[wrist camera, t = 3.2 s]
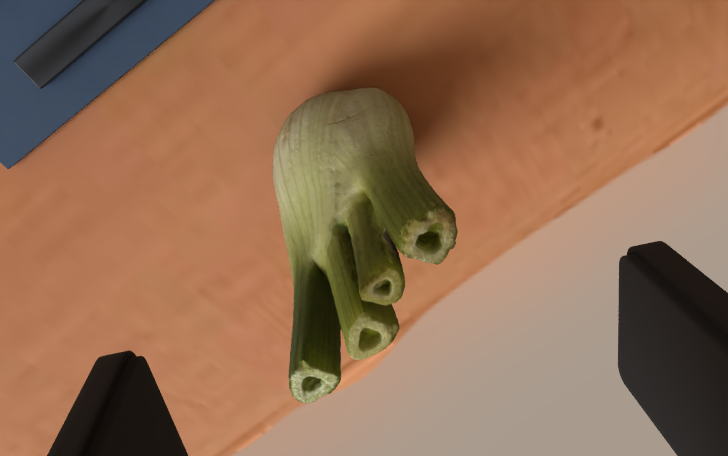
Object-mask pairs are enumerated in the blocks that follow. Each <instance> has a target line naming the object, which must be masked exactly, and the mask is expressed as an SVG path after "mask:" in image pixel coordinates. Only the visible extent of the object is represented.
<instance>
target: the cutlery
mask: <svg viewBox="0 0 728 456" xmlns="http://www.w3.org/2000/svg"><path fill="white" fill-rule="evenodd" d="M147 1H148V0H83V1H81V2H80V3H79V4H78V5H77V6H76V7H75V8H73V9H72V10H71V11H70V12H69V13H68V14H66V15H65V16H64V17H63V18H62V19H61V20H60V21H58V22H57V23H56V24H55V25H54V26H53V27H51V28H50V29H49V30H48V31H47V32H46V33H45V34H43V35H42V36H41V37H40V38H39V39H38V40H36V41H35V42H34V43H33V44H32V45H31V46H30V47H28V48H27V49H26V50H25V51H24V52H23V53H21V54H20V55H19V56H18V57H17V58H16V59H15V60H14V61H13V62H14V64H15V65H16V66H17V67H18V68H19V69H20V70H21V71H22V72H23V73H24V74H25V75H26V76H27V77H28V78H29V79H30V80H31V81H32V82H33V83H34V84H35V85H36V86H37V87H38V88H40V89H41V88H44V87H45V86H47V85H48V84H50V83H51V82H52V81H53V80H54V79H55V78H57V77H58V76H59V75H60V74H61V73H63V72H64V71H65V70H66V69H67V68H69V67H70V66H71V65H72V64H73V63H74V62H76V61H77V60H78V59H79V58H80V57H82V56H83V55H84V54H85V53H86V52H87V51H89V50H90V49H91V48H92V47H93V46H95V45H96V44H97V43H98V42H99V41H100V40H102V39H103V38H104V37H105V36H106V35H108V34H109V33H110V32H111V31H112V30H114V29H115V28H116V27H117V26H118V25H119V24H121V23H122V22H123V21H124V20H125V19H127V18H128V17H129V16H130V15H131V14H132V13H134V12H135V11H136V10H137V9H138V8H140V7H141V6H142V5H143V4H144V3H146V2H147Z"/></svg>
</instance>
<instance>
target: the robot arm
mask: <svg viewBox="0 0 728 456" xmlns="http://www.w3.org/2000/svg"><path fill="white" fill-rule="evenodd" d="M618 328H619V329H618V330H619V331H618V332H619V333H618V368H619V372H620V376H621V378H622V380H623V382H624V384H625V385H626V387H627V388H628V389H629V391H630V392H631V394H632V395H633V396H634V397H635V399H636V400H637V402H638V403H639V404H640V406H641V407H642V408H643V410H644V411H645V412H646V414H647V415H648V416H649V418H650V419H651V421H652V422H653V423H654V425H655V426H656V427H657V429H658V430H659V431H660V433H661V434H662V435H663V437H664V438H665V439H666V441H667V442H668V443H669V444H670V446H671V448H672V449H673V450H674V451H675V453H676V454H677V455H678V456H728V293H727V292H726V291H724V290H723V289H722V288H721V287H719V286H718V285H717V284H716V283H714V282H713V281H712V280H711V279H709V278H708V277H707V276H705V275H704V274H703V273H702V272H701V271H699V270H698V269H697V268H696V267H694V266H693V265H692V264H691V263H689V262H688V261H687V260H686V259H685V258H683V257H682V256H681V255H680V254H678V253H677V252H676V251H674V250H673V249H672V248H671V247H670V246H668V245H667V244H666V243H664V242H662V241H657V242H652V243H648V244H642V245H638V246H633V247H630V248H629V249H628V252H627V255H626V256H622V257H621V259H620V262H619V327H618ZM47 456H188V454H187V452H186V449H185V447H184V445H183V443H182V440H181V438H180V436H179V434H178V431H177V429H176V427H175V424H174V422H173V420H172V418H171V415H170V413H169V411H168V409H167V406H166V404H165V402H164V399H163V397H162V395H161V393H160V390H159V388H158V386H157V384H156V381H155V379H154V377H153V374H152V372H151V370H150V368H149V365H148V363H147V361H146V359H145V358H144V357H143V356H138V357H136V355H135V354H134V353H133V352H132V351H125V352H120V353H115V354H110V355H106V356H101V357H99V358H98V359H97V361H96V362H95V364H94V366H93V368H92V370H91V372H90V374H89V376H88V378H87V380H86V382H85V384H84V385H83V387H82V389H81V391H80V393H79V395H78V397H77V399H76V401H75V403H74V405H73V407H72V409H71V411H70V412H69V414H68V416H67V418H66V420H65V422H64V424H63V426H62V428H61V430H60V432H59V434H58V436H57V438H56V439H55V441H54V443H53V445H52V447H51V449H50V451H49V453H48V455H47Z"/></svg>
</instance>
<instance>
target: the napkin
mask: <svg viewBox="0 0 728 456" xmlns="http://www.w3.org/2000/svg"><path fill="white" fill-rule="evenodd" d="M81 1H83V0H0V162H1V163H2V164H3V165H4V166H5V167H6V168H7V169H9V168H11V167H12V166H13V165H14V164H16V163H17V162H18V161H19V160H21V159H22V158H23V157H24V156H25V155H27V154H28V153H29V152H30V151H32V150H33V149H34V148H35V147H36V146H38V145H39V144H40V143H41V142H42V141H44V140H45V139H46V138H47V137H49V136H50V135H51V134H52V133H53V132H55V131H56V130H57V129H58V128H60V127H61V126H62V125H63V124H64V123H66V122H67V121H68V120H69V119H70V118H72V117H73V116H74V115H75V114H77V113H78V112H79V111H80V110H81V109H83V108H84V107H85V106H86V105H88V104H89V103H90V102H91V101H92V100H94V99H95V98H96V97H97V96H98V95H100V94H101V93H102V92H103V91H105V90H106V89H107V88H108V87H109V86H111V85H112V84H113V83H114V82H116V81H117V80H118V79H119V78H120V77H122V76H123V75H124V74H125V73H126V72H128V71H129V70H130V69H131V68H133V67H134V66H135V65H136V64H137V63H139V62H140V61H141V60H142V59H144V58H145V57H146V56H147V55H148V54H150V53H151V52H152V51H153V50H154V49H156V48H157V47H158V46H159V45H161V44H162V43H163V42H164V41H165V40H167V39H168V38H169V37H170V36H172V35H173V34H174V33H175V32H176V31H178V30H179V29H180V28H181V27H182V26H184V25H185V24H186V23H187V22H189V21H190V20H191V19H192V18H193V17H195V16H196V15H197V14H198V13H200V12H201V11H202V10H203V9H204V8H206V7H207V6H208V5H209V4H210V3H212V2H213V1H214V0H148V1H147V2H146V3H144V4H143V5H142V6H141V7H140V8H138V9H137V10H136V11H135V12H134V13H132V14H131V15H130V16H129V17H128V18H127V19H125V20H124V21H123V22H122V23H121V24H119V25H118V26H117V27H116V28H115V29H114V30H112V31H111V32H110V33H109V34H108V35H106V36H105V37H104V38H103V39H102V40H100V41H99V42H98V43H97V44H96V45H95V46H93V47H92V48H91V49H90V50H89V51H87V52H86V53H85V54H84V55H83V56H82V57H80V58H79V59H78V60H77V61H76V62H74V63H73V64H72V65H71V66H70V67H69V68H67V69H66V70H65V71H64V72H63V73H61V74H60V75H59V76H58V77H57V78H55V79H54V80H53V81H52V82H51V83H50V84H48V85H47V86H45V87H44V88H41V89H40V88H38V87H37V86H36V85H35V84H34V83H33V82H32V81H31V80H30V79H29V78H28V77H27V76H26V75H25V74H24V73H23V72H22V71H21V70H20V69H19V68H18V67H17V66H16V65H15V64H14V62H13V61H14V60H15V59H16V58H17V57H18V56H19V55H20V54H21V53H23V52H24V51H25V50H26V49H27V48H28V47H30V46H31V45H32V44H33V43H34V42H35V41H36V40H38V39H39V38H40V37H41V36H42V35H43V34H45V33H46V32H47V31H48V30H49V29H50V28H51V27H53V26H54V25H55V24H56V23H57V22H58V21H60V20H61V19H62V18H63V17H64V16H65V15H66V14H68V13H69V12H70V11H71V10H72V9H73V8H75V7H76V6H77V5H78V4H79V3H80V2H81Z"/></svg>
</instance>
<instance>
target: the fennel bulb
mask: <svg viewBox="0 0 728 456" xmlns="http://www.w3.org/2000/svg"><path fill="white" fill-rule="evenodd" d="M273 179H274V187H275V191H276V196H277V200H278V205H279V209H280V217H281V222H282V226H283V232H284V236H285V242H286V246H287V252H288V257H289V263H290V270H291V274H292V278H293V285H294V311H293V330H292V342H291V352H290V365H289V387H290V390H291V393H292V396H293V397H294V398H295V399H296V400H298V401H300V402H302V403H310V402H315V401H316V400H317V399H318V398H320V397H323V396H325V395H327V394H330V393H331V392H332V391H333V390H335V388H336V387H337V385H338V384H339V382H340V380H341V370H340V365H341V357H340V356H341V353H340V346H341V341H340V340H341V338H340V337H341V335H340V330H341V329H342V333H343V336H344V339H345V343H346V347H347V350H348V353H349V355H350V356H351V357H352V358H353V359H355V360H362V359H365V358H367V357H369V356H372V355H375V354H377V353H379V352H380V351H382V350H384V349H386V348H387V346H388V345H390V344H391V343H392V342H393V340H394V338H395V336H396V334H397V332H398V330H399V324H398V319H397V317H396V314H395V311H394V309H393V306H392V304H391V303H395V302H397V301H398V300H399V299H400V298H401V297H402V295H403V291H404V288H405V277H404V273H403V269H402V264H401V261H400V258H399V253H398V251H397V249H396V247H397V248H398V250H399V251H400V252H401V253H402V254H403V255H404V256H406V257H408V258H414V259H418V260H420V261H423V262H427V263H433V264H439V263H441V262H442V261H443V260H444V259H445V258H446V256H447V254H448V252H449V250H450V249H453V248H454V246H455V244H456V242H455V240H456V236H457V227H456V218H455V213H454V212H453V210H452V209H450V208H449V207H448V205H446V204H445V203H444V201H443V200H442V199H441V198H440V197H439V196H438V195H437V193H436V192H435V191H434V190H433V188H432V187H431V186H430V185H429V183H428V182H427V180H426V179H425V178H424V176H423V174H422V173H421V171H420V170H419V167H418V166H417V162H416V158H415V148H414V134H413V129H412V124H411V122H410V119H409V117H408V115H407V113H406V111H405V109H404V108H403V106H402V105H401V104H400V103H399V102H398V101H397V99H396V98H394V97H393V96H392V95H390V94H388V93H386V92H384V91H383V90H382V89H379V88H372V87H370V88H359V89H354V90H347V91H335V92H326V93H323V94H319V95H317V96H314V97H312V98H310V99H308V100H306V101H305V102H304V103H303V104H302V105H300V106H299V107H298V108H297V109H296V110H295V111H294V112H292V113H291V114H290V115H289V117H288V118H287V120H286V121H285V123H284V125H283V127H282V129H281V131H280V133H279V135H278V138H277V140H276V144H275V149H274V159H273Z"/></svg>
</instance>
